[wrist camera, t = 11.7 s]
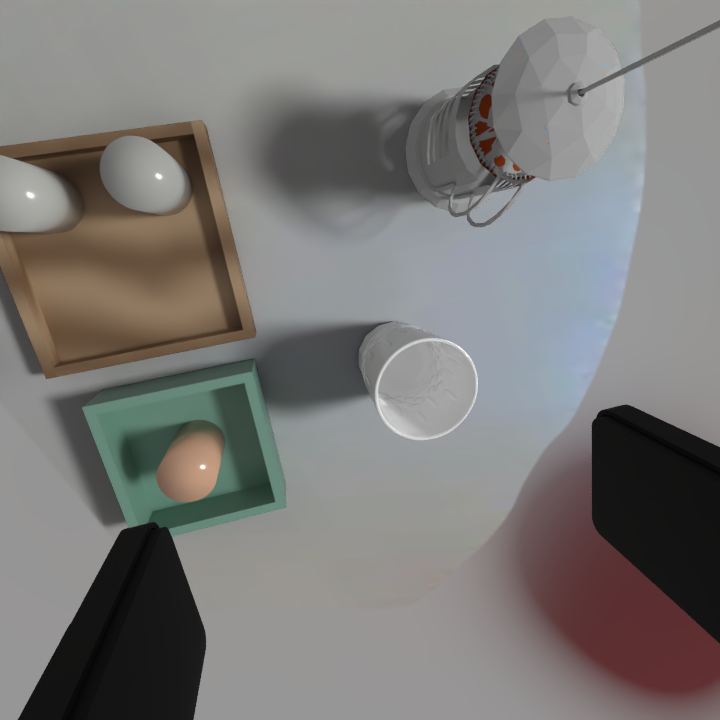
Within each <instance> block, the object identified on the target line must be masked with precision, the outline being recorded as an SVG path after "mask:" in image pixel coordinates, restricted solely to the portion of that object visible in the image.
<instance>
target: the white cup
mask: <svg viewBox="0 0 720 720" xmlns="http://www.w3.org/2000/svg"><path fill="white" fill-rule="evenodd" d="M359 368H360V370H361V372H362V376H363V380H364V382H365V385H366V388H367V390H368V392H369V394H370V396H371V399H372V401H373V403H374V405H375V407H376V409H377V412H378V414H379V416H380V418H381V419H382V421H383V422H384V424H385V425H386V426H387V427H388V428H389V429H390V430H391V431H393V432H394V433H396V434H398V435H399V436H402V437H404V438H407V439H412V440H430V439H434V438H438V437H440V436H443V435H445V434H447V433H449V432H450V431H452V430H453V429H455V428H456V427H457V426H458V425H459V424H461V423H462V421H463V420H464V419H465V418H466V417H467V415H468V414H469V412H470V411H471V409H472V407H473V405H474V402H475V399H476V395H477V390H478V377H477V372H476V369H475V366H474V364H473V362H472V360H471V358H470V357H469V355H468V354H467V353H466V352H465V351H464V350H463V349H462V348H461V347H459V346H458V345H456V344H455V343H453V342H450V341H448V340H446V339H444V338H441V337H439V336H437V335H435V334H433V333H431V332H428V331H426V330H423V329H420V328H418V327H415V326H412V325H409V324H405V323H400V322H395V321H393V322H389V323H385V324H381V325H378V326H377V327H376V328H375V329H373V330H372V331H371V332H370V333H368V334H367V335H366V336H365V338H364V340H363V342H362V345H361V347H360V349H359Z"/></svg>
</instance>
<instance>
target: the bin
mask: <svg viewBox="0 0 720 720" xmlns="http://www.w3.org/2000/svg"><path fill="white" fill-rule="evenodd" d="M82 410H83V412H84V415H85V417H86V420H87V422H88V425H89V427H90V430H91V433H92V435H93V438H94V440H95V443H96V445H97V448H98V451H99V453H100V456H101V458H102V461H103V463H104V466H105V469H106V471H107V474H108V476H109V479H110V481H111V484H112V487H113V489H114V492H115V494H116V497H117V499H118V502H119V505H120V507H121V510H122V512H123V515H124V517H125V520H126V522H127V525H128V528H131V527H135V526H139V525H143V524H147V523H151V522H155V523H157V525H158V526H159V528H162V527H167V528H168V529H169V531H170V533H171V536H176V535H180V534H184V533H187V532H191V531H195V530H199V529H203V528H207V527H211V526H215V525H219V524H223V523H227V522H231V521H235V520H239V519H242V518H246V517H250V516H254V515H258V514H262V513H266V512H270V511H274V510H278V509H282V508H286V483H285V479H284V475H283V471H282V467H281V463H280V459H279V455H278V451H277V447H276V443H275V439H274V435H273V431H272V427H271V423H270V419H269V415H268V411H267V407H266V403H265V399H264V395H263V391H262V387H261V383H260V379H259V375H258V371H257V367H256V363H255V359H250V360H246V361H241V362H236V363H231V364H226V365H221V366H217V367H212V368H207V369H202V370H197V371H192V372H188V373H183V374H178V375H173V376H168V377H163V378H159V379H154V380H149V381H144V382H139V383H134V384H130V385H125V386H120V387H115V388H110V389H105V390H102V391H101V392H99V393H98V394H97V395H96V396H95V397H93V398H92V399H91V400H90V401H89V402H88V403H86V404H85V405H84V406H83V407H82ZM194 420H206V421H209V422H212V423H214V424H215V425H217V426H218V427H219V428H220V429H221V430H222V432H223V433H224V436H225V441H226V444H225V449H224V453H223V457H222V461H221V464H220V468H219V472H218V476H217V480H216V484H215V486H214V488H213V490H212V491H211V492H210V493H209V494H208V495H207V496H205V497H204V498H202V499H200V500H197V501H193V502H179V501H175V500H173V499H171V498H169V497H167V496H166V495H165V494H164V493H163V492H162V491H161V490H160V488H159V486H158V484H157V479H156V475H157V470H158V467H159V466H160V464H161V462H162V460H163V458H164V456H165V454H166V452H167V450H168V448H169V447H170V445H171V443H172V441H173V439H174V437H175V435H176V433H177V431H178V430H179V429H180V428H181V427H182V426H183V425H184V424H186V423H188V422H190V421H194Z"/></svg>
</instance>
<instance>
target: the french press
mask: <svg viewBox="0 0 720 720" xmlns="http://www.w3.org/2000/svg"><path fill="white" fill-rule="evenodd" d="M718 28H720V20H719V21H717V22H715V23H713V24H711V25H709V26H707V27H705V28H703V29H701V30H699V31H697V32H695V33H693V34H691V35H690V36H687V37H685V38H683V39H681V40H680V41H677V42H675V43H673V44H672V45H669V46H667V47H665V48H663V49H661V50H659V51H657V52H656V53H653V54H651V55H649V56H648V57H645V58H643V59H641V60H639V61H637V62H635V63H633V64H631V65H629V66H627V67H625V68H623V69H621V66H620V63H619V59H618V56H617V53H616V50H615V48H614V47H613V46H612V45H611V43H610V42H609V41H608V40H607V39H606V37H605V36H604V35H603V34H602V33H601V32H600V30H599V29H598V28H597V27H595V26H593V25H590V24H588V23H586V22H583V21H581V20H579V19H576V18H574V17H563V18H553V19H544V20H542V21H541V22H539V23H538V24H536V25H535V26H533V27H532V28H530V29H528V30H527V31H525V32H524V33H522V34H521V35H519V36H518V38H517V39H516V41H515V42H514V43H513V45H512V46H511V48H510V49H509V51H508V52H507V54H506V55H505V56H504V58H503V59H502V61H501V62H500V65H493V66H492V67H490V68H489V69H487V70H486V71H484V72H483V73H481V74H480V75H478V76H477V77H475V78H474V79H473V80H472V81H470V82H469V83H468V84H466V85H465V86H464V87H463V88H456V89H449V90H443V91H441V92H440V93H438V94H437V95H435V96H434V97H432V98H431V99H429V100H428V101H426V102H425V103H424V104H423V105H422V107H421V108H420V110H419V111H418V113H417V114H416V116H415V117H414V119H413V121H412V122H411V124H410V128H409V132H408V137H407V141H406V146H405V153H406V161H407V169H408V174H409V175H410V177H411V179H412V181H413V183H414V185H415V187H416V189H417V191H418V193H419V194H420V195H422V196H423V197H424V198H425V199H426V200H428V201H429V202H430V203H431V204H433V205H434V206H435V207H438V208H441V209H445V210H449V211H450V214H451V215H452V216H454V217H459V216H463V215H467V220H468V222H469V223H470V225H472V226H474V227H484V226H486V225H489V224H491V223H492V222H493V221H495V220H496V219H497V218H498V217H499V216H501V215H502V214H503V213H504V212H505V211H506V210H507V209H508V208H509V207H510V206H511V205H512V204H513V203H514V201H515V200H516V198H517V197H518V196H519V194H520V193H521V192H522V190H523V189H524V186H525V184H526V183H527V182H529V181H531V180H532V179H534V178H535V177H538V178H541V179H544V180H548V181H553V180H560V179H567V178H574V177H575V176H577V175H578V174H580V173H581V172H583V171H585V170H586V169H588V168H589V167H591V166H592V165H594V164H595V163H597V161H598V160H599V158H600V157H601V156H602V154H603V153H604V152H605V150H606V149H607V148H608V146H609V145H610V143H611V142H612V141H613V139H614V137H615V134H616V131H617V128H618V125H619V122H620V119H621V116H622V113H623V110H624V75H623V74H625V73H627V72H629V71H631V70H633V69H635V68H638V67H640V66H642V65H644V64H646V63H648V62H650V61H652V60H654V59H656V58H658V57H660V56H662V55H664V54H666V53H668V52H671V51H673V50H675V49H677V48H679V47H681V46H683V45H685V44H687V43H689V42H691V41H693V40H695V39H697V38H699V37H701V36H703V35H706V34H708V33H710V32H712V31H714V30H716V29H718ZM482 77H485V78H484V80H478V81H475V80H476V79H478V78H482ZM473 81H474V82H473ZM477 83H481V84H480V85H477V86H471V87H469V86H470V85H472V84H477ZM474 88H476V89H475V90H472V89H474ZM504 180H506V181H505V182H504ZM507 182H509V183H508V184H506V185H505V186H504V187H502V186H503V185H504V184H505V183H507ZM511 183H512V184H513V185H511V186H509V185H510V184H511ZM516 184H517V185H516ZM514 185H515V186H514ZM507 186H509V187H511V188H516V187H519V188H518V190H517V192H516V193H515V195H514V196H513V198H512V199H511V201H510V202H509V203H508V204H507V205H506V206H505V207H504V208H503V209H502V210H501V211H500V212H498V213H497V214H496V215H495V216H494V217H492V218H491V219H489V220H488V221H486V222H485V223H476V224H475V223H474V222H473V221H472V220H471V218H470V212H471V211H472V210H473V209H475V208H477V207H478V206H480V205H481V204H483V203H484V202H486V201H487V200H489V199H490V198H492V197H493V196H494V195H495V193H496V192H498V191H502V190H507V189H511V188H509V187H507ZM512 186H513V187H512ZM500 187H502V188H500ZM505 187H506V188H505ZM503 188H504V189H503ZM465 210H466V211H465ZM459 211H465V212H460V213H455V212H459Z"/></svg>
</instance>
